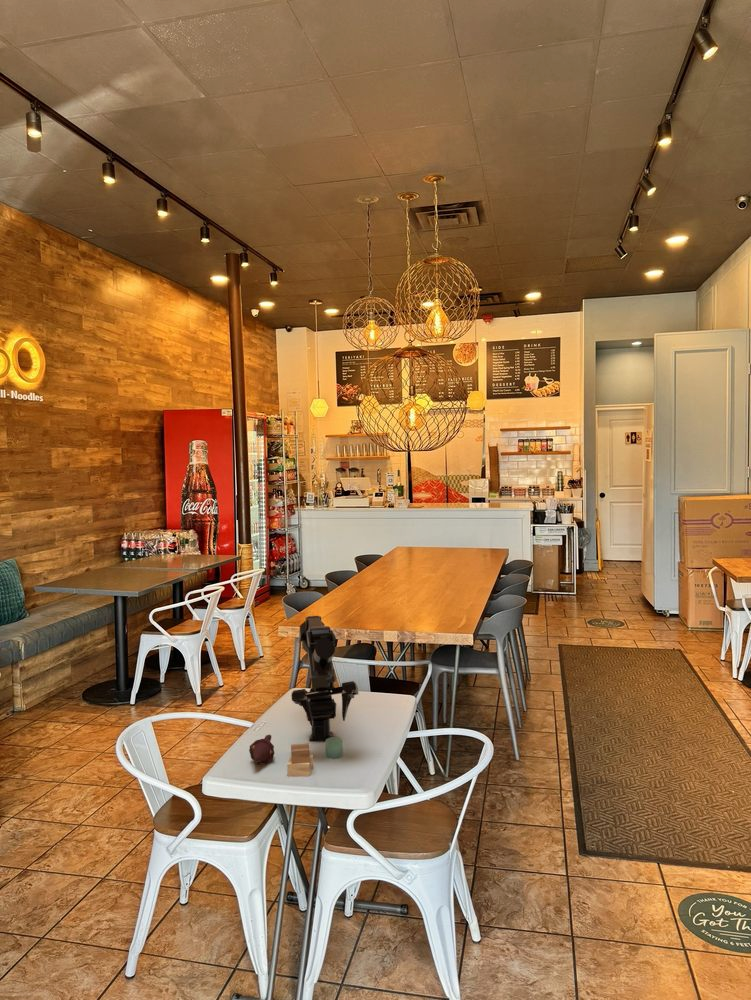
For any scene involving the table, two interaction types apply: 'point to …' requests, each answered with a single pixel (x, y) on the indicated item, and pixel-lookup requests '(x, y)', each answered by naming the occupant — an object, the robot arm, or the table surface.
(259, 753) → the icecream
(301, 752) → the tower top
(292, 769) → the tower base
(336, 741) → the sage green cylinder
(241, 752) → the table surface
